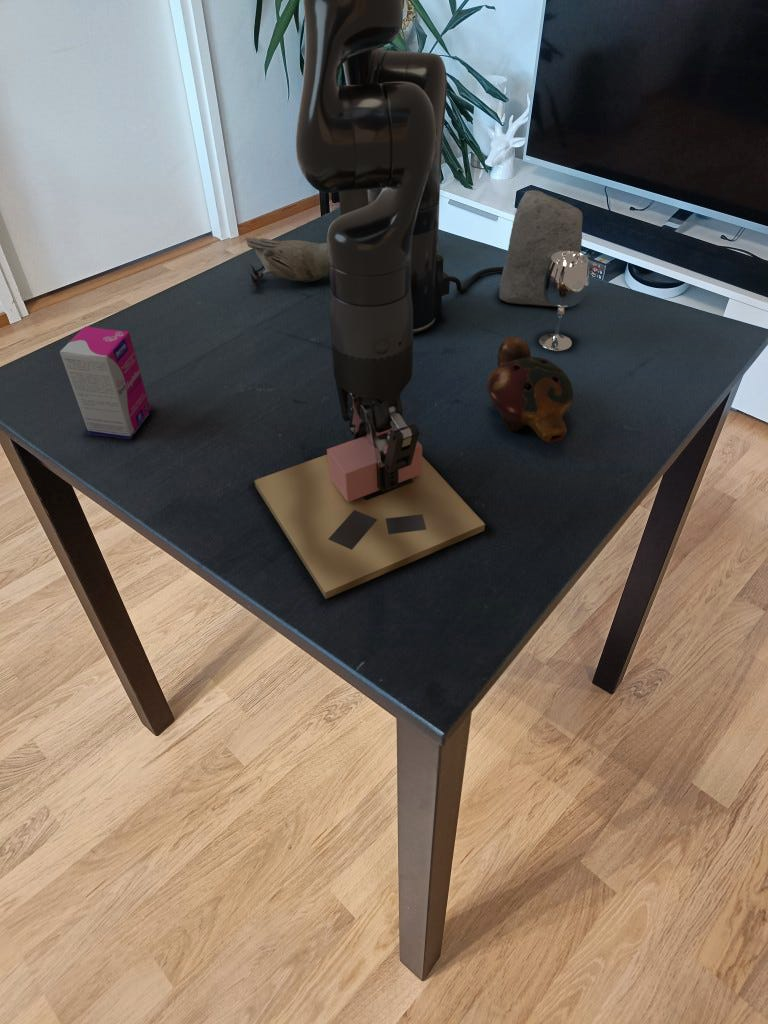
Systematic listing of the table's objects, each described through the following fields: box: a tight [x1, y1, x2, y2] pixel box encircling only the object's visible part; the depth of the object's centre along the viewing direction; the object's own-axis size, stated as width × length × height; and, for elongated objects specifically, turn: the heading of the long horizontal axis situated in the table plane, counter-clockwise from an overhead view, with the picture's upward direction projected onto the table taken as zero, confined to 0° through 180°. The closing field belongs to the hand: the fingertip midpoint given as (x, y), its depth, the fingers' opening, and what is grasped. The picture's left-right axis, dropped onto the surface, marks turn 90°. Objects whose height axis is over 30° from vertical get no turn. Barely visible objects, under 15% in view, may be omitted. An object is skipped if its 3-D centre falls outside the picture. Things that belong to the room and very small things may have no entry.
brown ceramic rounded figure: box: [487, 336, 574, 444], centre depth 83 cm, size 10×15×8 cm, turn 21°
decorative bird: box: [244, 237, 329, 290], centre depth 109 cm, size 5×16×8 cm, turn 94°
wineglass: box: [538, 251, 590, 352], centre depth 94 cm, size 6×6×12 cm
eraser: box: [326, 428, 423, 502], centre depth 76 cm, size 9×4×4 cm, turn 119°
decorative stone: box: [498, 189, 584, 308], centre depth 101 cm, size 11×6×15 cm, turn 71°
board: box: [253, 454, 486, 600], centre depth 75 cm, size 18×18×1 cm
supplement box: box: [59, 326, 152, 440], centre depth 83 cm, size 6×6×12 cm
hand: (376, 473), depth 77 cm, fingers closed on eraser, 4 cm apart
